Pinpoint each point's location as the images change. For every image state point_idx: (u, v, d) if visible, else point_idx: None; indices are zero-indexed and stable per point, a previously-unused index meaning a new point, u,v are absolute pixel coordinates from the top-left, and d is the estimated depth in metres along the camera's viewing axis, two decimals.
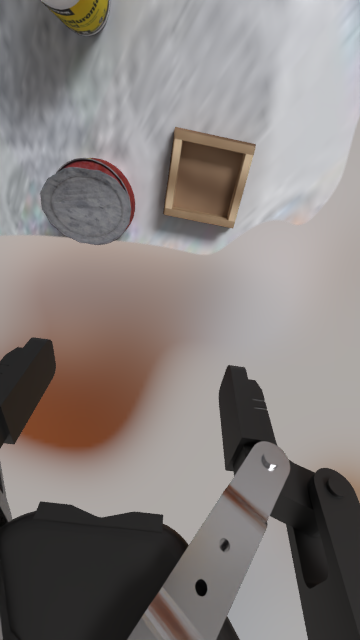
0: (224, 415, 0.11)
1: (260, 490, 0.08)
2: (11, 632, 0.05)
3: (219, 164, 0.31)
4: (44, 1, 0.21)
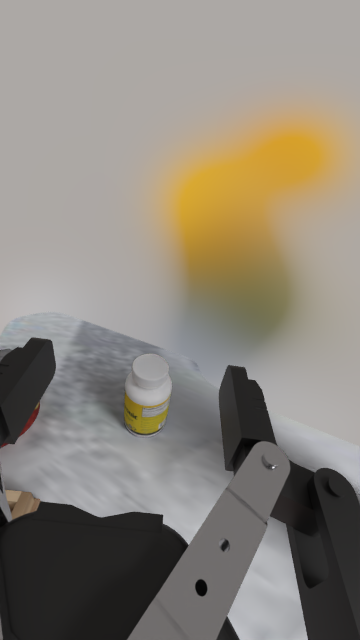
0: (224, 415, 0.11)
1: (260, 490, 0.08)
2: (11, 632, 0.05)
3: None
4: (127, 376, 0.31)
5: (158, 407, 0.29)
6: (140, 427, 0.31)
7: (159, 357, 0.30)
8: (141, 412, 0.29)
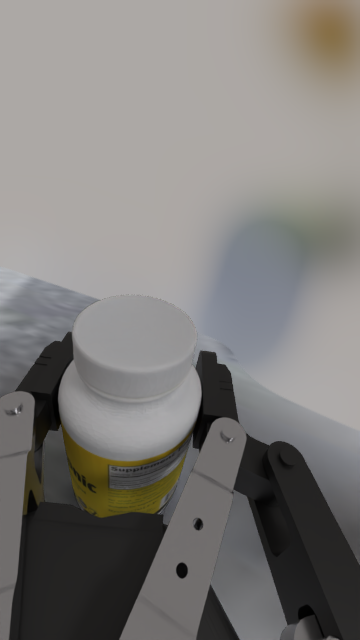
0: None
1: (223, 463, 0.08)
2: None
3: None
4: None
5: (162, 461, 0.09)
6: (108, 510, 0.11)
7: (165, 305, 0.10)
8: (108, 478, 0.09)
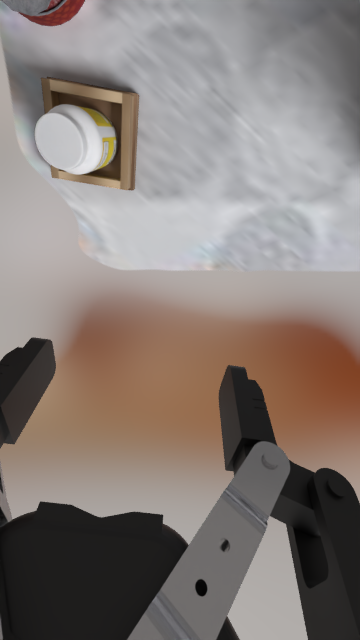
0: (224, 415, 0.11)
1: (260, 490, 0.08)
2: (11, 632, 0.05)
3: None
4: None
5: (92, 170, 0.27)
6: None
7: (66, 122, 0.21)
8: None
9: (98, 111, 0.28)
